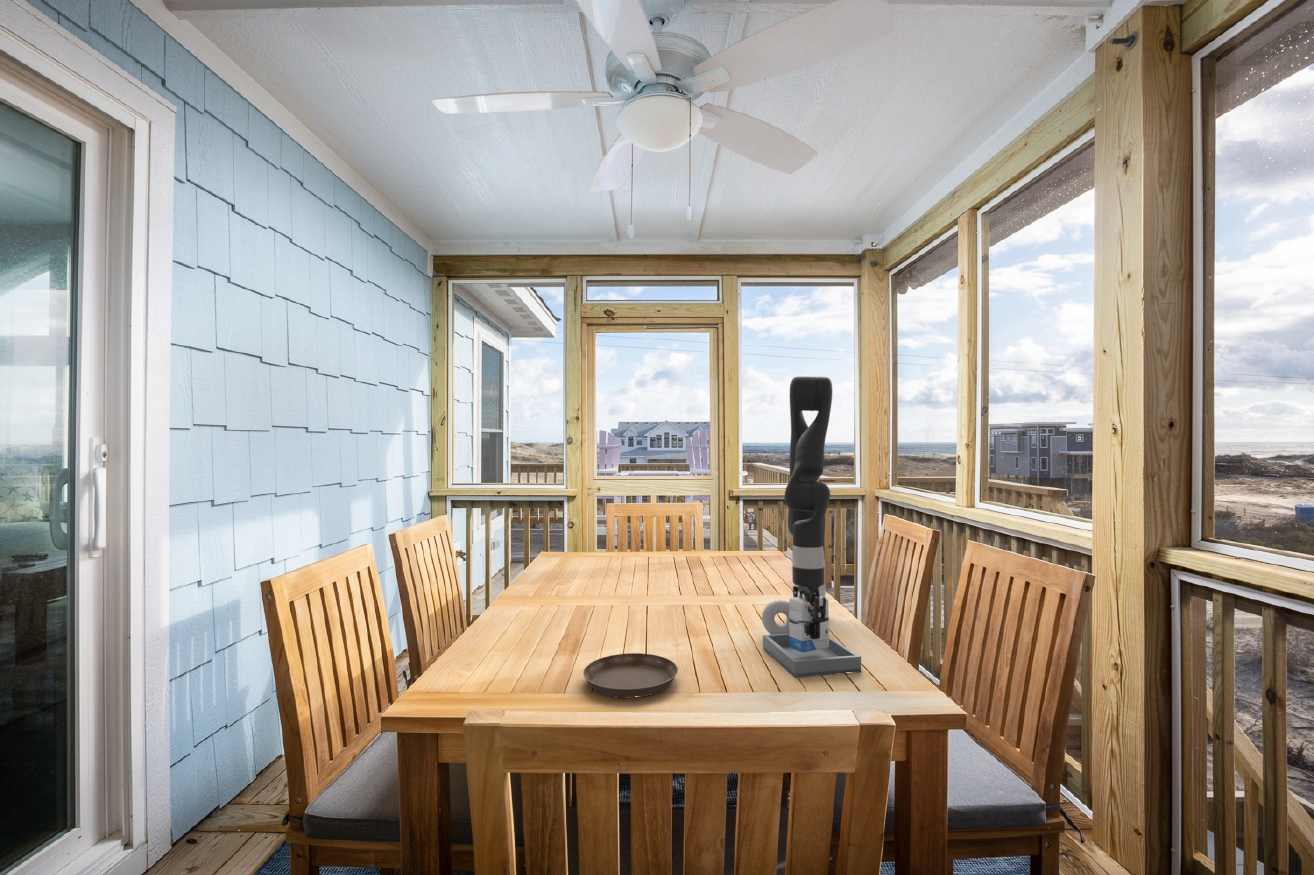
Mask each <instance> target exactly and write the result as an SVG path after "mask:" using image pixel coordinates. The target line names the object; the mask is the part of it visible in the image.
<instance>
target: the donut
mask: <svg viewBox="0 0 1314 875" xmlns="http://www.w3.org/2000/svg"><path fill="white" fill-rule="evenodd" d="M777 614H783V615H785V616H786V621H785V622H784V623H783V624H779V623H777V622H776V620H775V617H776V615H777ZM761 621H762V625H763V627H764V629H765V630H766V631H767V633H768V634H769V635H772V634H786V633H789V601H786V600H783V599H778V600H773V601H770V603H768V604H767V605H766V606H765V607H764V609H763V610H762V614H761Z"/></svg>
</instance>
